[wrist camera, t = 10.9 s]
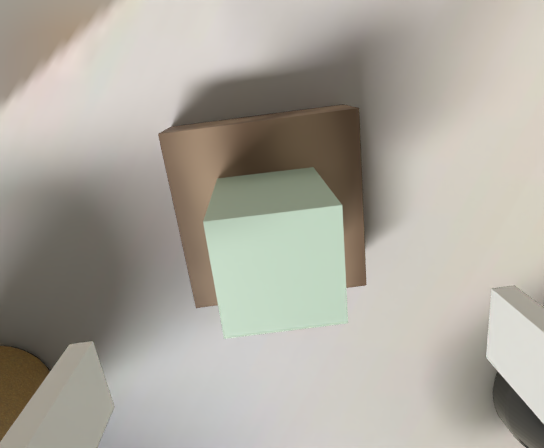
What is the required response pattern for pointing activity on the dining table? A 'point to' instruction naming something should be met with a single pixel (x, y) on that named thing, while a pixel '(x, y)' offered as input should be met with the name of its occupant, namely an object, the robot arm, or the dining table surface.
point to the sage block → (276, 252)
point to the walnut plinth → (262, 159)
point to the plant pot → (17, 383)
